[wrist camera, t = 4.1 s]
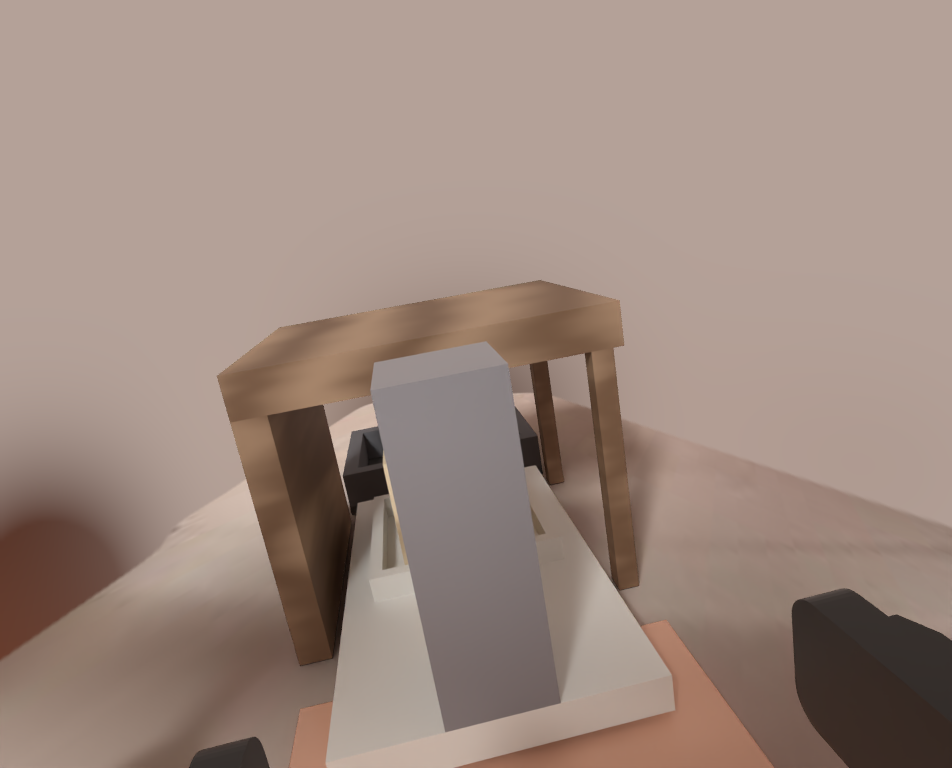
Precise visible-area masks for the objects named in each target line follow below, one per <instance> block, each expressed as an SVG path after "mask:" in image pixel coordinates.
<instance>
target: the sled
mask: <svg viewBox="0 0 952 768" xmlns="http://www.w3.org/2000/svg"><path fill="white" fill-rule="evenodd" d="M370 391H371V396H372V400H373V405H374V409H375V414H376V419H377V423H378V428H379V432H380V437H381V441H382V446H383V450H384V455H385V460H386V464H387V469H388V473H389V478H390V482H391V487H392V491H393V496H394V501H395V505H396V510H397V514H398V519H399V523H400V528H401V532H402V537H403V542H404V546H405V551H406V555H407V560H408V565H405V563H404V558H403V554H402V549H401V545H400V540H399V536H398V531H397V527H396V522H395V518H394V513H393V509H392V504H391V500H390V495H389V494H387V495H382V496H377V497H374V500H370V501H365V502H360V503H358V505H357V513H356V521H355V529H354V537H353V545H352V553H351V561H350V569H349V577H348V585H347V593H346V601H345V609H344V617H343V625H342V633H341V641H340V649H339V657H338V665H337V674H336V682H335V690H334V698H333V706H332V714H331V722H330V730H329V738H328V746H327V754H326V762H325V763H326V767H327V768H455V767H459V766H463V765H466V764H470V763H474V762H478V761H482V760H486V759H489V758H493V757H497V756H501V755H505V754H509V753H513V752H516V751H520V750H524V749H528V748H532V747H536V746H540V745H543V744H547V743H551V742H555V741H559V740H563V739H567V738H570V737H574V736H578V735H582V734H586V733H590V732H593V731H597V730H601V729H605V728H609V727H613V726H617V725H620V724H624V723H628V722H632V721H636V720H640V719H644V718H647V717H651V716H655V715H659V714H663V713H667V712H671V711H674V710H675V702H674V691H673V681H672V674H671V673H670V671H669V670H668V668H667V667H666V665H665V664H664V662H663V661H662V659H661V657H660V656H659V654H658V653H657V651H656V650H655V648H654V647H653V645H652V644H651V642H650V641H649V639H648V637H647V636H646V634H645V633H644V631H643V630H642V628H641V627H640V625H639V624H638V622H637V621H636V619H635V617H634V616H633V614H632V613H631V611H630V610H629V608H628V607H627V605H626V604H625V602H624V601H623V599H622V597H621V596H620V594H619V593H618V591H617V590H616V588H615V587H614V585H613V584H612V582H611V581H610V579H609V577H608V576H607V574H606V573H605V571H604V570H603V568H602V567H601V565H600V564H599V562H598V561H597V559H596V558H595V556H594V554H593V553H592V551H591V550H590V548H589V547H588V545H587V544H586V542H585V541H584V539H583V538H582V536H581V534H580V533H579V531H578V530H577V528H576V527H575V525H574V524H573V522H572V521H571V519H570V518H569V516H568V514H567V513H566V511H565V510H564V508H563V507H562V505H561V504H560V502H559V501H558V499H557V498H556V496H555V494H554V493H553V491H552V490H551V488H550V487H549V485H548V484H547V482H546V481H545V479H544V478H543V476H542V474H541V473H540V471H539V470H538V468H537V467H536V465H534V466H529V467H525V468H524V464H523V457H522V451H521V444H520V438H519V431H518V425H517V419H516V412H515V406H514V399H513V393H512V387H511V380H510V374H509V367H508V363H507V362H506V361H505V360H504V359H503V358H502V357H501V356H500V355H499V354H498V353H497V352H496V351H495V350H494V349H493V348H492V347H491V346H490V345H489V344H488V343H487V341H485V342H480V343H475V344H469V345H464V346H459V347H454V348H448V349H443V350H438V351H433V352H427V353H422V354H417V355H412V356H406V357H401V358H396V359H391V360H385V361H380V362H375V363H374V367H373V374H372V382H371V389H370Z"/></svg>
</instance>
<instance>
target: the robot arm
mask: <svg viewBox="0 0 952 768" xmlns="http://www.w3.org/2000/svg"><path fill="white" fill-rule="evenodd" d="M792 627H793V645H794V663H795V682H796V689H797V693H798V696H799V700H800V702H801V705H802V707H803V709H804V711H805V713H806V715H807V717H808V719H809V720H810V722H811V724H812V725H813V726H814V728H815V729H816V730H817V732H818V733H819V734H820V735H821V736H822V738H823V739H824V740H825V741H826V742H827V743H828V744H829V745H830V747H831V748H832V749H833V750H834V751H835V752H836V753H837V755H838V756H839V757H840V758H841V759H842V760H843V761H844V763H845V764H846V765H847V766H848V767H849V768H952V640H950V639H949V638H947V637H946V636H944V635H943V634H942V633H939V632H937V631H935V630H932V629H930V628H928V627H925V626H923V625H920V624H918V623H916V622H913V621H911V620H909V619H906V618H904V617H901V616H899V615H893V616H889V617H888V616H887V615H886V614H884V613H883V612H882V611H880V610H879V609H878V608H876V607H875V606H874V605H872V604H871V603H869V602H868V601H867V600H865V599H864V598H863V597H861V596H860V595H859V594H857V593H856V592H854V591H852V590H850V589H839V590H835V591H831V592H827V593H823V594H819V595H815V596H811V597H808V598H804V599H800V600H797V601H796V602H795V603H794V605H793V607H792ZM189 768H270V767H269V764H268V761H267V758H266V755H265V752H264V749H263V746H262V744H261V742H260V741H259V739H258V738H256V737H251V738H247V739H243V740H239V741H235V742H231V743H227V744H223V745H220V746H216V747H212V748H208V749H204V750H201V751H199V752H198V753H197V754H196V755H195V756H194V758H193V760H192V762H191V764H190V767H189Z"/></svg>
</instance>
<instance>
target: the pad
mask: <svg viewBox="0 0 952 768" xmlns="http://www.w3.org/2000/svg"><path fill="white" fill-rule="evenodd" d="M640 627H641V628H642V630H643V631H644V633H645V634H646V636H647V637H648V639H649V641H650V642H651V644H652V645H653V647H654V648H655V650H656V651H657V653H658V654H659V656H660V657H661V659H662V661H663V662H664V664H665V665H666V667H667V668H668V670H669V671H670V673H671V674H672V681H673V691H674V702H675V710H674V711H671V712H667V713H663V714H659V715H655V716H651V717H647V718H644V719H640V720H636V721H632V722H628V723H624V724H620V725H617V726H613V727H609V728H605V729H601V730H597V731H593V732H590V733H586V734H582V735H578V736H574V737H570V738H567V739H563V740H559V741H555V742H551V743H547V744H543V745H540V746H536V747H532V748H528V749H524V750H520V751H516V752H513V753H509V754H505V755H501V756H497V757H493V758H489V759H486V760H482V761H478V762H474V763H470V764H466V765H463V766H459V767H455V768H774V767H773V765H772V764H771V763H770V761H769V760H768V758H767V757H766V756H765V754H764V753H763V752H762V750H761V749H760V747H759V746H758V745H757V743H756V742H755V741H754V739H753V738H752V736H751V735H750V734H749V732H748V731H747V730H746V728H745V727H744V726H743V724H742V723H741V721H740V720H739V719H738V717H737V716H736V715H735V713H734V712H733V710H732V709H731V708H730V706H729V705H728V704H727V702H726V701H725V700H724V698H723V697H722V695H721V694H720V693H719V691H718V690H717V689H716V687H715V686H714V684H713V683H712V682H711V680H710V679H709V678H708V676H707V675H706V674H705V672H704V671H703V669H702V668H701V667H700V665H699V664H698V663H697V661H696V660H695V658H694V657H693V656H692V654H691V653H690V652H689V650H688V649H687V648H686V646H685V645H684V643H683V642H682V641H681V639H680V638H679V637H678V635H677V634H676V632H675V631H674V630H673V628H672V627H671V626H670V624H669V623H668V621H667V620H663V621H659V622H655V623H651V624H647V625H643V626H640ZM332 706H333V701H331V702H327V703H323V704H318V705H314V706H310V707H306V708H302V709H300V713H299V718H298V723H297V728H296V733H295V739H294V744H293V749H292V754H291V759H290V764H289V768H327V767H326V763H325V762H326V754H327V746H328V738H329V730H330V722H331V714H332Z"/></svg>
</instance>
